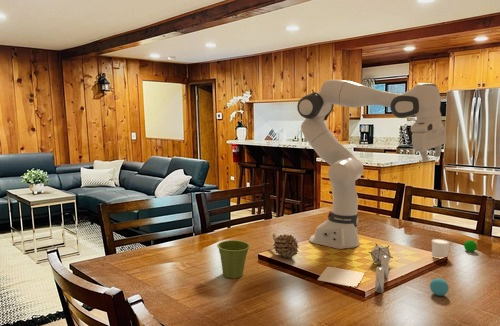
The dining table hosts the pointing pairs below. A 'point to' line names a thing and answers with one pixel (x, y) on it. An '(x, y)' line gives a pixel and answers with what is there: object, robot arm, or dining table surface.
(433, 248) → the white cylinder
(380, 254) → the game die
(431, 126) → the robot arm
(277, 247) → the pine cone
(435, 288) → the ball
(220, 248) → the plant pot
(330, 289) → the dining table surface
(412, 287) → the dining table surface
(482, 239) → the dining table surface
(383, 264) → the post
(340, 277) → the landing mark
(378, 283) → the post
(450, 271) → the dining table surface
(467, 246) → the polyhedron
